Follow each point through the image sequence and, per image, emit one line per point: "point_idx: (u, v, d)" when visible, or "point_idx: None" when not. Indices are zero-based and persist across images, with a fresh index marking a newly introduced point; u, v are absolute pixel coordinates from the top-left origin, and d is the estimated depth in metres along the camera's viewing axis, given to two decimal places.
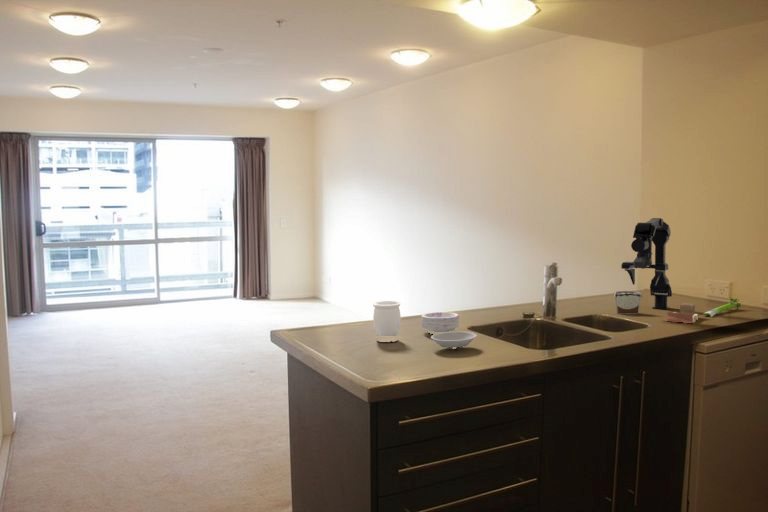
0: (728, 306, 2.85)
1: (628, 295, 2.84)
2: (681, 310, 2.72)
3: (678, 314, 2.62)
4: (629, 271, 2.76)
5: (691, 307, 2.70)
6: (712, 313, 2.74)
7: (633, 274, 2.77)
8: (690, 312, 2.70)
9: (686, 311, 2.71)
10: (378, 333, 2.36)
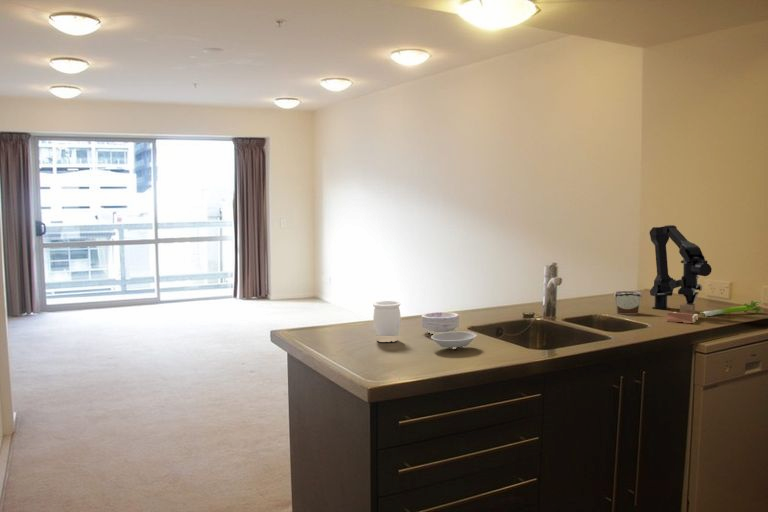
0: (741, 308, 2.78)
1: (628, 295, 2.84)
2: (681, 310, 2.72)
3: (678, 314, 2.62)
4: None
5: (691, 307, 2.69)
6: (709, 313, 2.75)
7: None
8: (690, 312, 2.70)
9: (686, 311, 2.71)
10: (378, 333, 2.36)
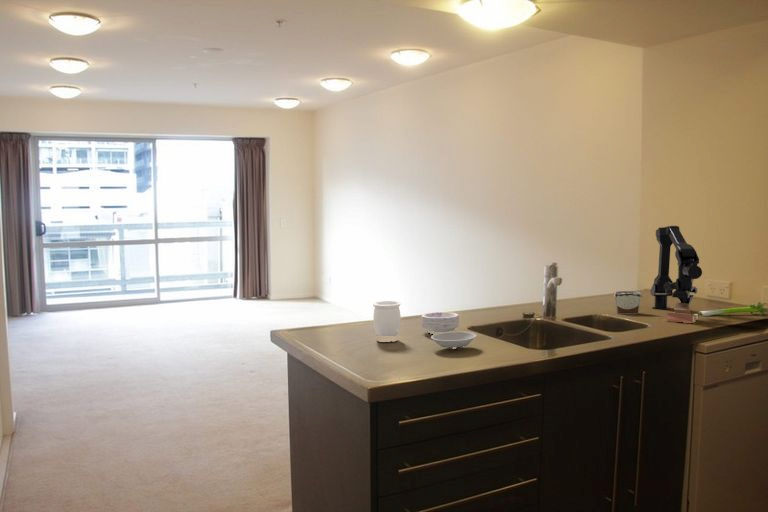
0: (744, 309, 2.76)
1: (628, 295, 2.84)
2: None
3: (678, 314, 2.62)
4: None
5: (685, 311, 2.63)
6: (707, 312, 2.76)
7: None
8: None
9: None
10: (378, 333, 2.36)
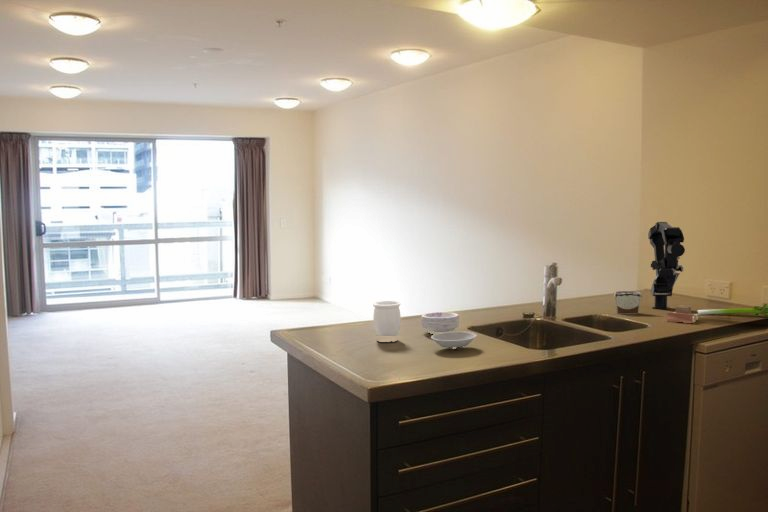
0: (745, 310, 2.73)
1: (628, 295, 2.84)
2: (676, 312, 2.67)
3: (678, 314, 2.62)
4: None
5: (687, 309, 2.64)
6: (704, 311, 2.78)
7: None
8: None
9: None
10: (378, 333, 2.36)
